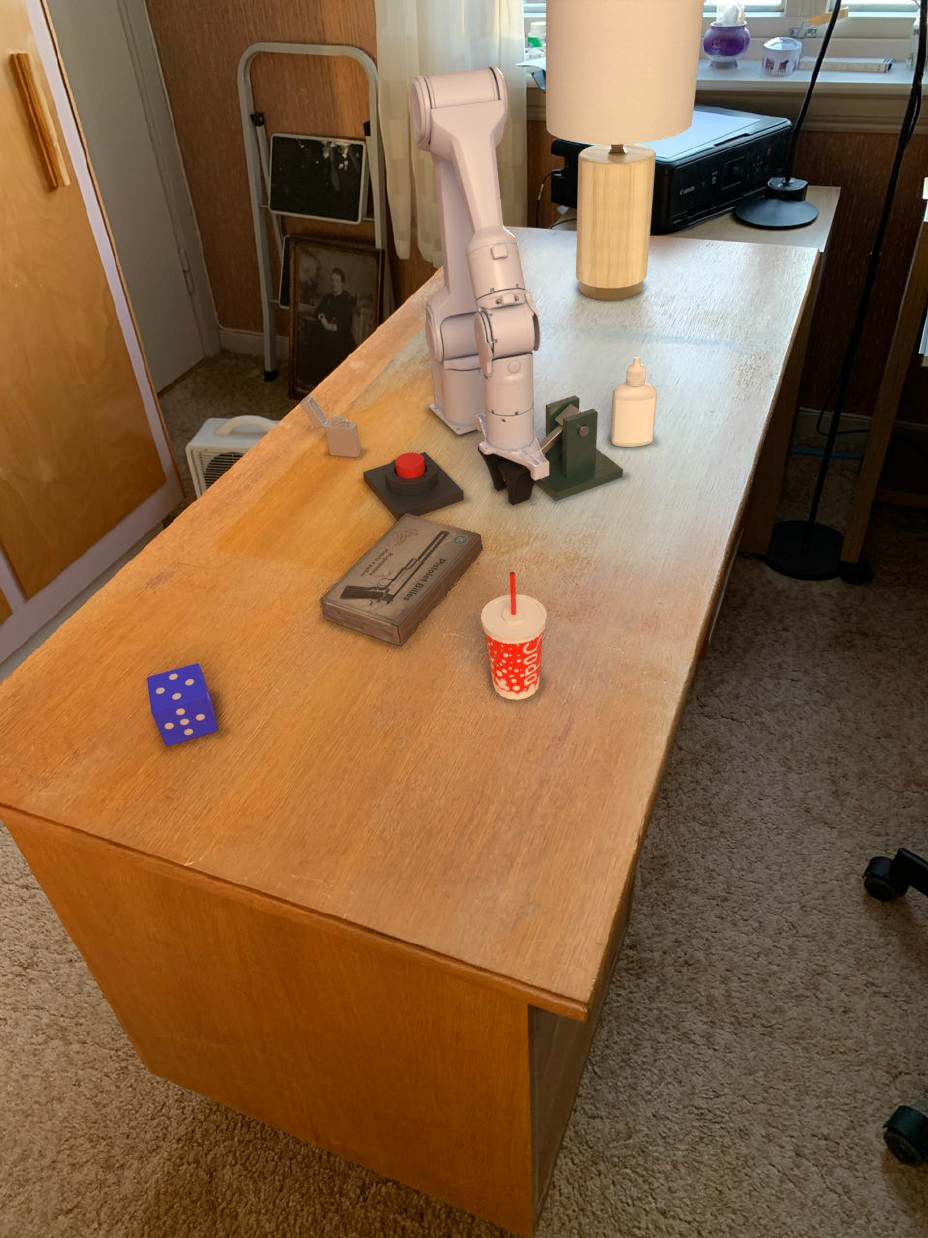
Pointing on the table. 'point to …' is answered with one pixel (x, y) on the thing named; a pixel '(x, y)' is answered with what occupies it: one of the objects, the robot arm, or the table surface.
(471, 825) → the table surface
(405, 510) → the button box
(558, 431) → the lever
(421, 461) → the button
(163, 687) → the die
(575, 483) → the bracket
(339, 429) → the lighter
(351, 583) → the box
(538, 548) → the table surface
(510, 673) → the beverage cup
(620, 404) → the eye dropper bottle
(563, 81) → the lamp
